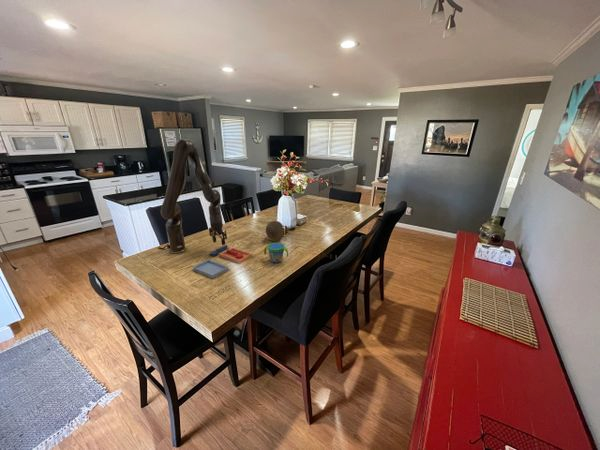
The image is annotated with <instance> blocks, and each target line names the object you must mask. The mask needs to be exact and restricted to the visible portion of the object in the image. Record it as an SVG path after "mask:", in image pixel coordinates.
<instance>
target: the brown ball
mask: <svg viewBox="0 0 600 450" xmlns="http://www.w3.org/2000/svg"><path fill="white" fill-rule="evenodd" d="M265 234H266V237H267V238H268V239H269V240H270V241H273V242H279V241H281V240H282V238H283V237H284V234H285V228H284V226H283V224H282V223H281V222H280V221H278V220H273V221H270V222H268V223H267V224H266V227H265Z"/></svg>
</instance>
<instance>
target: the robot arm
mask: <svg viewBox="0 0 600 450" xmlns="http://www.w3.org/2000/svg"><path fill="white" fill-rule="evenodd" d="M173 147H174V148H173V156H172V163H171V167H170V172H169V175H168V180H167V185H166V191H165V196H164V198H163V201H162V205H161V207H160V215H161V217H162V218H163V219H164V220H167V221H166V223H165V228H166V234H167V240H168V243H167V244H166V245H164V246H163V247H161V246H158V249H160V250H164V249H166V248H167V249H169V250H170V251H169V252H170V253H171V254H182V253H184V252H186V250H187V247H186V242H185V237H184V236H185V235H184V230H183V215H182V209H181V207H180V205H179V204H178V203H177V202H178V200H179V198H180V196H181V194H182V193H183V191H184V188H185V186H186V182H187V170H186V164H187V160H189V161H190V163H191V165H192V169H193V173H194V177H195V178H196V181H197V182H198V184H199V186H200V188H201V191H202V192H201V193H202V195H203V197H204V199H205V201H207V202H208V203H209V205H208V215H209V224H210V227H209V228H208V233H209V236H210V237H211V238H212V242H213V243H216V242H217V237H218V238H220V242H221V246H224V245H226V240H227V239H228V234H227V230H226V229H223V228H224V225H223V217H222V211H221V199H222V198H221V193H220V191H219V190H218V189H213V187H212V185H213V181H212V180H211V178H210V176H209V174H208V173H207V171H206V169H205V167H204V164H203V161H202V159H201V157H200V154H199V151H198V149H197V146H196V143H195V142H194V141H193V140H191V139H189V138H180V139H178V140H176V141H175V143H174V146H173Z"/></svg>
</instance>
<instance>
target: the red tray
mask: <svg viewBox="0 0 600 450" xmlns="http://www.w3.org/2000/svg"><path fill="white" fill-rule="evenodd" d="M229 250H232V251H235V252H238V254H239V253H242V254H243V258H241V259H237V258H236V256H233V255H230V254H227V250H224V251H222V252H220V253H219V257H221V258H223V259H226V260H228V261H231V262H233V263H237V264H241V263H243V262H244V261H246V260H248V259H250V258H252V257H253V256H252V253H251V252H247V251H244V250H242V249H237V248H235V247H231V248H229Z"/></svg>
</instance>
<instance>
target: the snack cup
mask: <svg viewBox="0 0 600 450" xmlns="http://www.w3.org/2000/svg"><path fill="white" fill-rule="evenodd" d="M267 250H268V256H269V259H270V262H271V263H276V264H278V263H281V262H282V261H283V259H284V258H283V257H284V251H285V252H286V258H288V257H289V249H288V248H287V247H285V244H284V243H281V242H271V243H269V244H267V245H266V246H265V247H264V249H263V254H264V255H267Z"/></svg>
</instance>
